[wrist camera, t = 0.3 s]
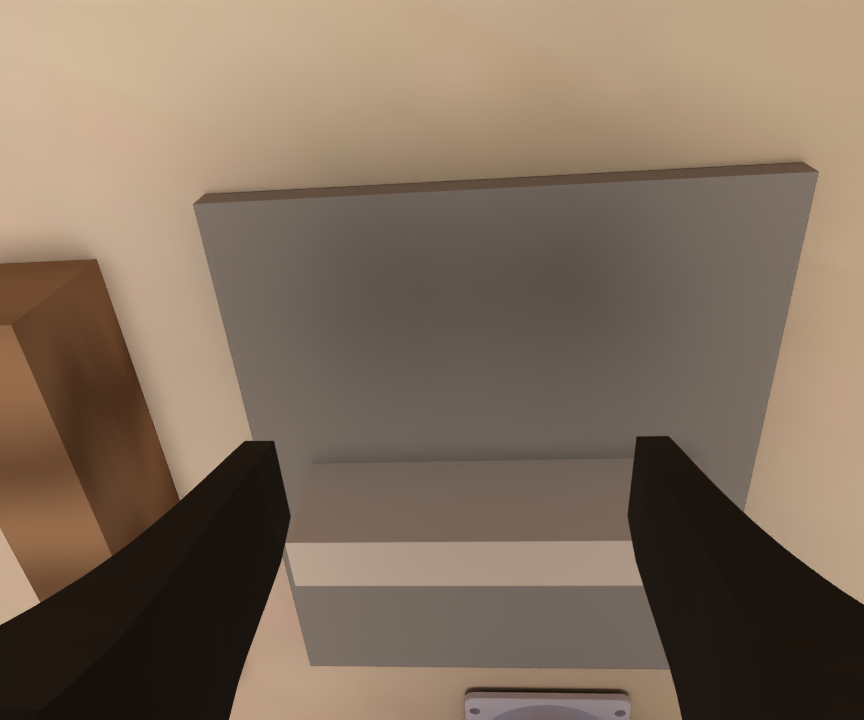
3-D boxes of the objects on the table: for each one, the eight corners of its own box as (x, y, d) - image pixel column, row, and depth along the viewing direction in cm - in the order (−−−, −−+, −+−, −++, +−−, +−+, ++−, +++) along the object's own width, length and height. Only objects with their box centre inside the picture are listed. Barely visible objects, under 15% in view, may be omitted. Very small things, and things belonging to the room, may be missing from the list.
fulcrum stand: (702, 649, 30) (739, 762, 26) (315, 646, 32) (290, 752, 28) (803, 162, 19) (895, 218, 15) (204, 194, 21) (134, 253, 17)
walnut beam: (240, 666, 34) (205, 768, 29) (173, 665, 34) (129, 766, 30) (100, 256, 23) (11, 325, 18) (3, 261, 23) (-107, 329, 19)
